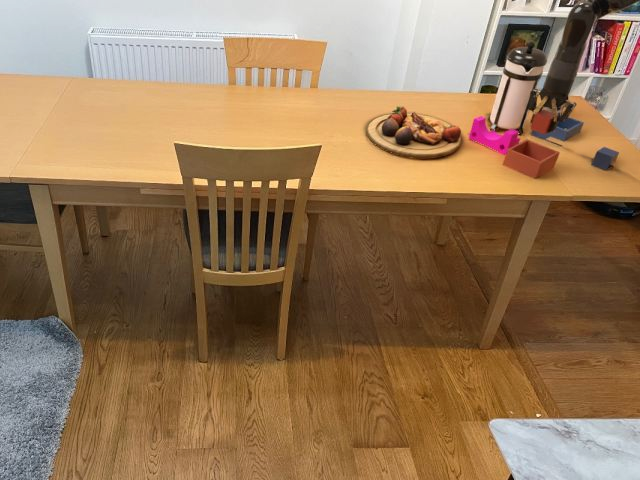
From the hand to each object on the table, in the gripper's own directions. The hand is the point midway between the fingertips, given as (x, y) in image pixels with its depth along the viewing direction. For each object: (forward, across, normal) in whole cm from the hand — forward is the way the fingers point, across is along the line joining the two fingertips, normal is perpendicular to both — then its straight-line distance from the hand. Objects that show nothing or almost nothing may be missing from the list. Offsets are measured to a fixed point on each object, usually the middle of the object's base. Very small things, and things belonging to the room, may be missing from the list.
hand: (541, 128), depth 182 cm
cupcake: (+13, -17, +46) cm, 51 cm away
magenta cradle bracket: (+13, -16, +4) cm, 21 cm away
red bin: (+13, 0, 0) cm, 13 cm away
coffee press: (+13, -22, +21) cm, 33 cm away
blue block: (+13, +15, +20) cm, 28 cm away
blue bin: (+13, -6, +28) cm, 32 cm away
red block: (0, 0, 0) cm, 0 cm away
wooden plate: (+14, -36, -14) cm, 41 cm away
